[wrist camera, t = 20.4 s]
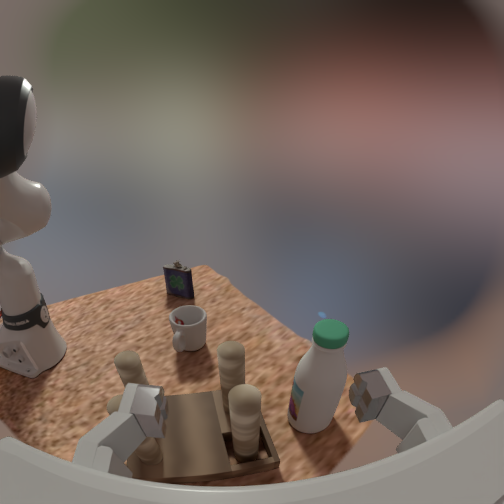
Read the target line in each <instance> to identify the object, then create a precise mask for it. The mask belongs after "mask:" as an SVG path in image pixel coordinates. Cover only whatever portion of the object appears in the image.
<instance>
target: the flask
mask: <svg viewBox="0 0 504 504" xmlns="http://www.w3.org/2000/svg"><path fill="white" fill-rule="evenodd" d="M174 264H175V265H164V267H163V269H164V275H165V282H166V290H167V293H168V294H169V295H174V296H177V297H182V298H183V297H184V298H187V299H193V298H194V290H193V283H192V273H191V269H190V268H187V267H183V266H182V265H181V264H179V262H178V261H176V262H174Z"/></svg>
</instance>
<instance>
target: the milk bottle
mask: <svg viewBox="0 0 504 504" xmlns="http://www.w3.org/2000/svg"><path fill="white" fill-rule="evenodd" d="M348 337H349V329H348V327H347V326H346V325H345V324H344V323H342V322H340V321H337V320H333V319H325V320H322V321H319V322H318V323H317V324H316V325H315V327H314V330H313V337H312V343H313V344H312V346H311V348H310V349H309V351H308V352H307V353H306V354H305V355H304V356H303V357H302V359H301V360H300V362H299V364H298V366H297V369H296V372H295V376H294V381H293V386H292V392H291V397H290V403H289V408H288V420H289V422H290V424H291V425H292V426H293V427H294V428H295V429H296V430H298V431H300V432H303V433H317V432H319V431H322V430H324V429H325V428H326V427H327V426H328V425H329V424H330V422H331V420H332V418H333V416H334V413H335V411H336V408H337V406H338V403H339V400H340V398H341V395H342V392H343V389H344V386H345V383H346V379H347V365H346V361H345V358H344V353H343V349H344V348H345V347H346V343H347V340H348Z"/></svg>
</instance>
